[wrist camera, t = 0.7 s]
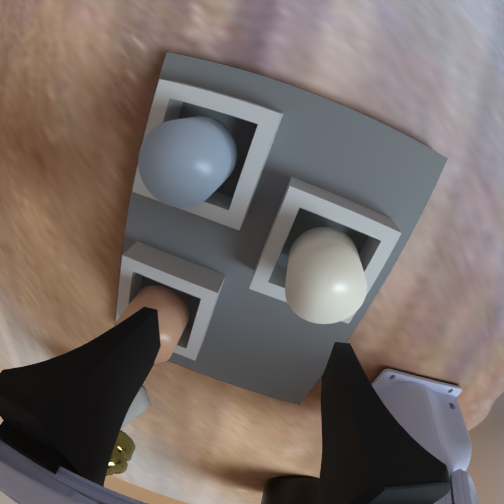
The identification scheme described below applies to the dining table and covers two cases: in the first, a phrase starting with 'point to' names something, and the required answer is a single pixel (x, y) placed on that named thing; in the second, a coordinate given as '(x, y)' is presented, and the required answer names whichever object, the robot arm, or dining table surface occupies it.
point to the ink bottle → (290, 491)
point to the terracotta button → (162, 316)
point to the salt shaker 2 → (120, 455)
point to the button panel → (269, 221)
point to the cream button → (324, 276)
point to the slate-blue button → (187, 160)
